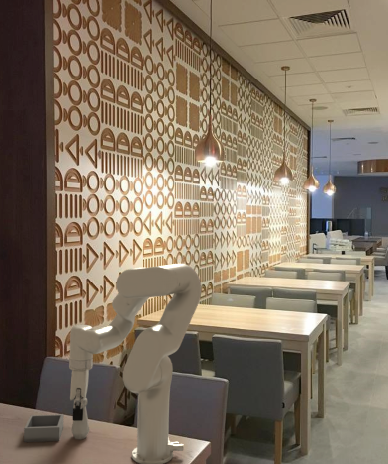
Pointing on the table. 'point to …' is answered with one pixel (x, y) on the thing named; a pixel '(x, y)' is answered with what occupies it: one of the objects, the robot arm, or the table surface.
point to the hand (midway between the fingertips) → (79, 414)
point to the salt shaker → (81, 424)
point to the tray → (43, 428)
